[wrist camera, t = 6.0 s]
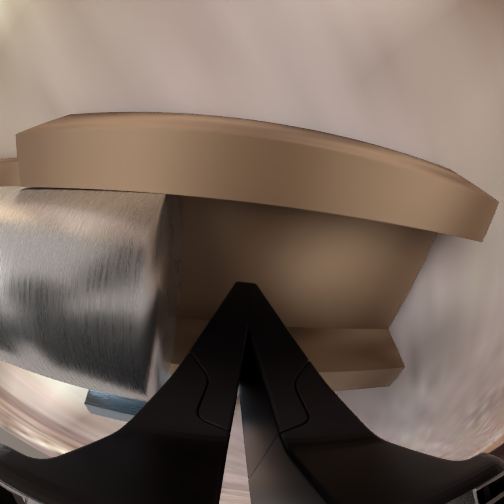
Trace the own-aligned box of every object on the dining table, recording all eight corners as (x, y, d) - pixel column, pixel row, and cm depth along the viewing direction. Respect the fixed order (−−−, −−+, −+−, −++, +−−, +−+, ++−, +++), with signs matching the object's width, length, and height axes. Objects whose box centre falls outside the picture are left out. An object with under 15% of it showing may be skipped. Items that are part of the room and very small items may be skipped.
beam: (450, 169, 9) (499, 201, 7) (372, 340, 14) (389, 385, 12) (-49, 135, 7) (-91, 157, 4) (-10, 292, 12) (-34, 326, 9)
